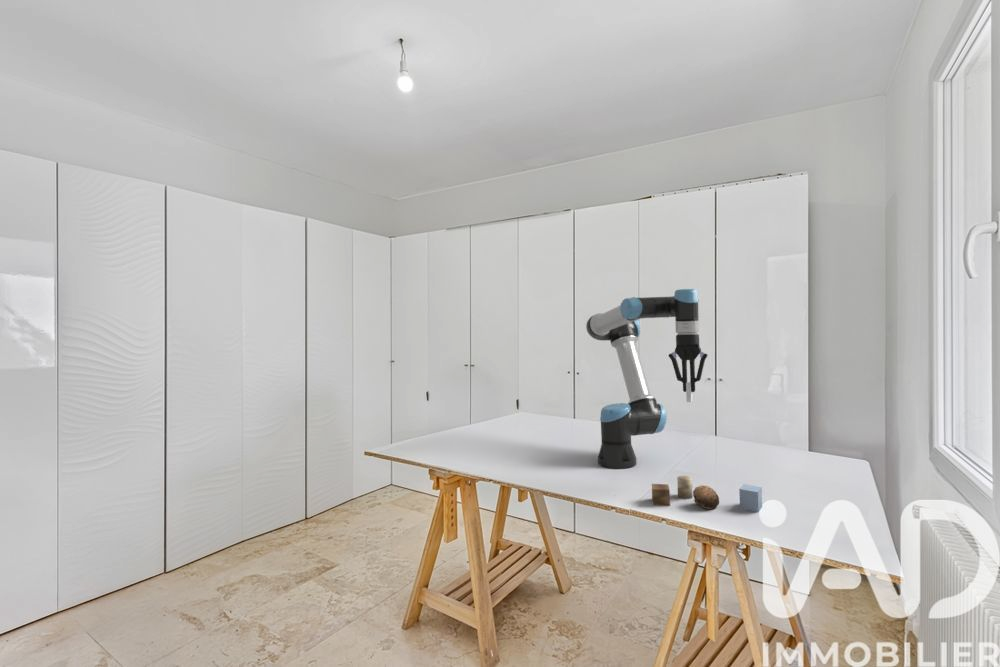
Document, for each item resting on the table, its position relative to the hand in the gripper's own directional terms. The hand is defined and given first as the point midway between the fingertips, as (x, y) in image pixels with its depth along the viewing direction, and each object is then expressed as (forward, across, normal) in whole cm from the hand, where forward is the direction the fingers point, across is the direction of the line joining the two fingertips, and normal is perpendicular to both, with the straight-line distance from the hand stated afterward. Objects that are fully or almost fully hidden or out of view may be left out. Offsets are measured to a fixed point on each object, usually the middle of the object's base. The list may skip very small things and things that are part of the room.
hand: (689, 401), depth 169 cm
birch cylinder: (+28, 0, -15) cm, 32 cm away
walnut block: (+29, -6, -23) cm, 37 cm away
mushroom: (+29, +7, -21) cm, 36 cm away
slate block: (+29, +19, -17) cm, 38 cm away
